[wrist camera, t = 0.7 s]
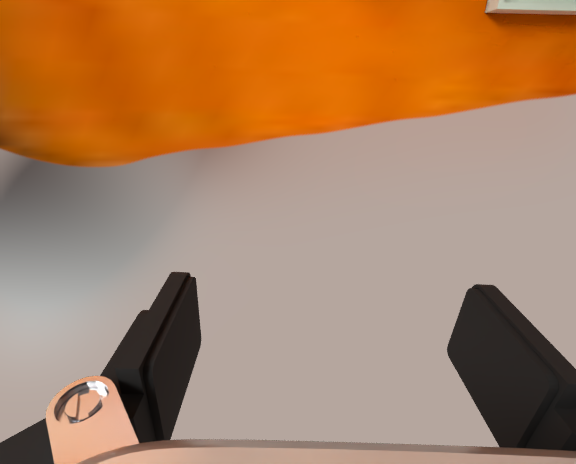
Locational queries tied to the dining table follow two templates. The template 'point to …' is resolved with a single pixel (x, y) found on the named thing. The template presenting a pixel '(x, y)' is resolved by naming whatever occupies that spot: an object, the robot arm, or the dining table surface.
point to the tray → (532, 6)
